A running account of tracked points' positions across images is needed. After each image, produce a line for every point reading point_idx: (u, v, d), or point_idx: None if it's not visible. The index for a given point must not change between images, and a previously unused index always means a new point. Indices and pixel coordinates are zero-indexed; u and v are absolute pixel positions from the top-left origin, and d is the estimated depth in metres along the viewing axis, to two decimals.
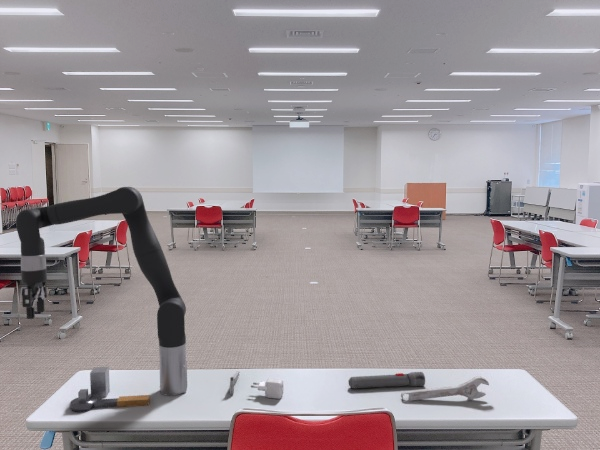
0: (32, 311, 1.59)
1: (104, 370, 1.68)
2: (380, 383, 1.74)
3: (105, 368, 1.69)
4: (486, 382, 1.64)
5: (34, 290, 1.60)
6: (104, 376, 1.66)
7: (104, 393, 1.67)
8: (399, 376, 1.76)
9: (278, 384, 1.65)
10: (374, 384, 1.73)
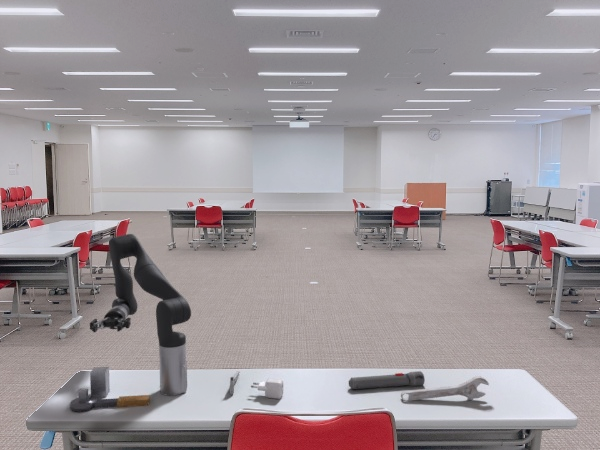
0: None
1: (104, 370, 1.68)
2: (380, 383, 1.73)
3: (105, 368, 1.69)
4: (486, 382, 1.64)
5: None
6: (104, 376, 1.66)
7: (104, 393, 1.67)
8: (399, 376, 1.76)
9: (278, 384, 1.65)
10: (374, 385, 1.73)
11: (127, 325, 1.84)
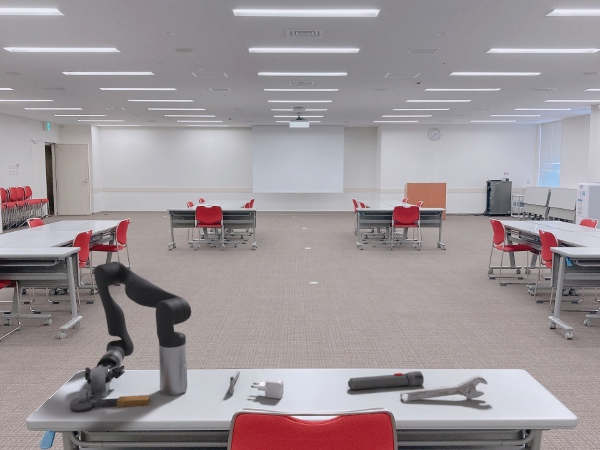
0: None
1: (104, 370, 1.68)
2: (379, 383, 1.73)
3: (105, 368, 1.69)
4: (485, 381, 1.65)
5: None
6: (104, 376, 1.66)
7: (104, 393, 1.67)
8: (398, 376, 1.76)
9: (278, 384, 1.65)
10: (373, 385, 1.73)
11: (116, 375, 1.71)
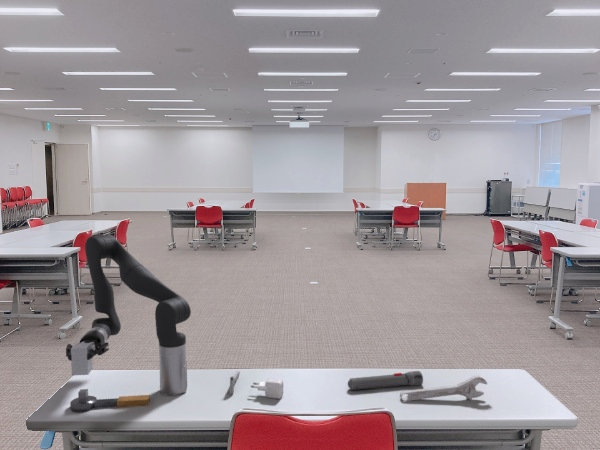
0: None
1: (86, 346, 1.58)
2: (379, 383, 1.73)
3: (87, 344, 1.59)
4: (484, 381, 1.65)
5: None
6: (86, 352, 1.56)
7: (86, 370, 1.57)
8: (397, 376, 1.76)
9: (278, 384, 1.65)
10: (373, 385, 1.73)
11: (99, 352, 1.61)
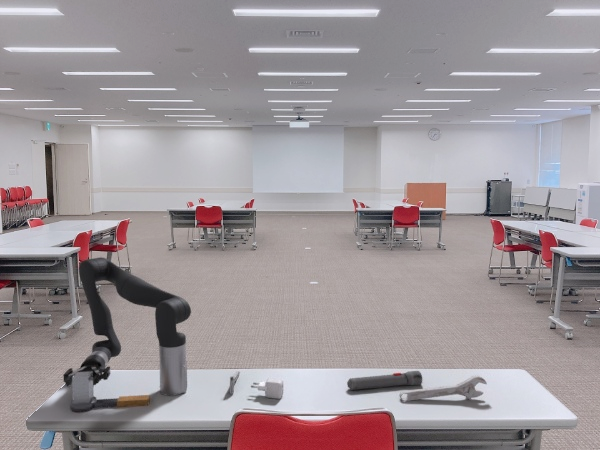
0: (68, 378, 1.59)
1: (87, 375, 1.58)
2: (379, 383, 1.73)
3: (88, 373, 1.60)
4: (484, 381, 1.65)
5: (79, 369, 1.66)
6: (87, 381, 1.57)
7: (87, 399, 1.57)
8: (397, 376, 1.76)
9: (278, 384, 1.65)
10: (373, 385, 1.73)
11: (105, 376, 1.62)
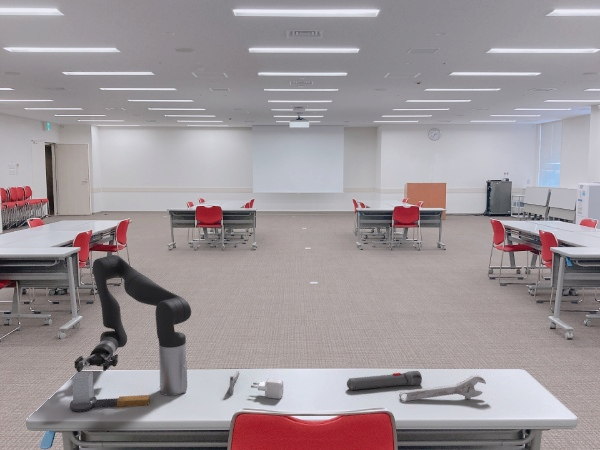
0: (79, 364, 1.71)
1: (87, 375, 1.58)
2: (378, 383, 1.73)
3: (88, 373, 1.60)
4: (483, 381, 1.65)
5: (89, 357, 1.77)
6: (87, 381, 1.57)
7: (87, 399, 1.57)
8: (396, 376, 1.76)
9: (278, 384, 1.65)
10: (372, 385, 1.73)
11: (114, 363, 1.74)
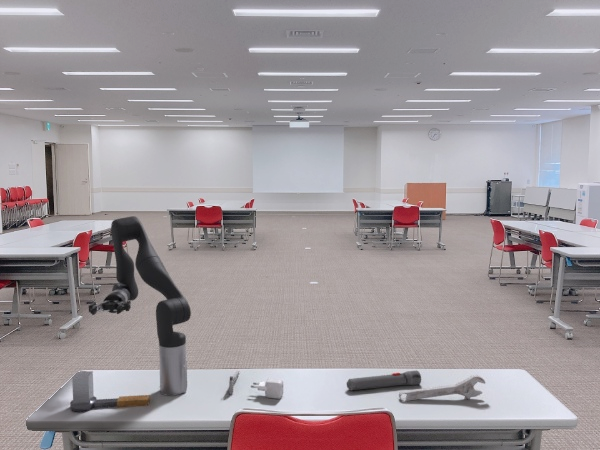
0: (93, 308, 1.75)
1: (87, 375, 1.58)
2: (378, 384, 1.73)
3: (88, 373, 1.60)
4: (483, 380, 1.65)
5: None
6: (87, 381, 1.57)
7: (87, 399, 1.57)
8: (396, 376, 1.76)
9: (278, 384, 1.65)
10: (372, 385, 1.73)
11: (127, 308, 1.78)
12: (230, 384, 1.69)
